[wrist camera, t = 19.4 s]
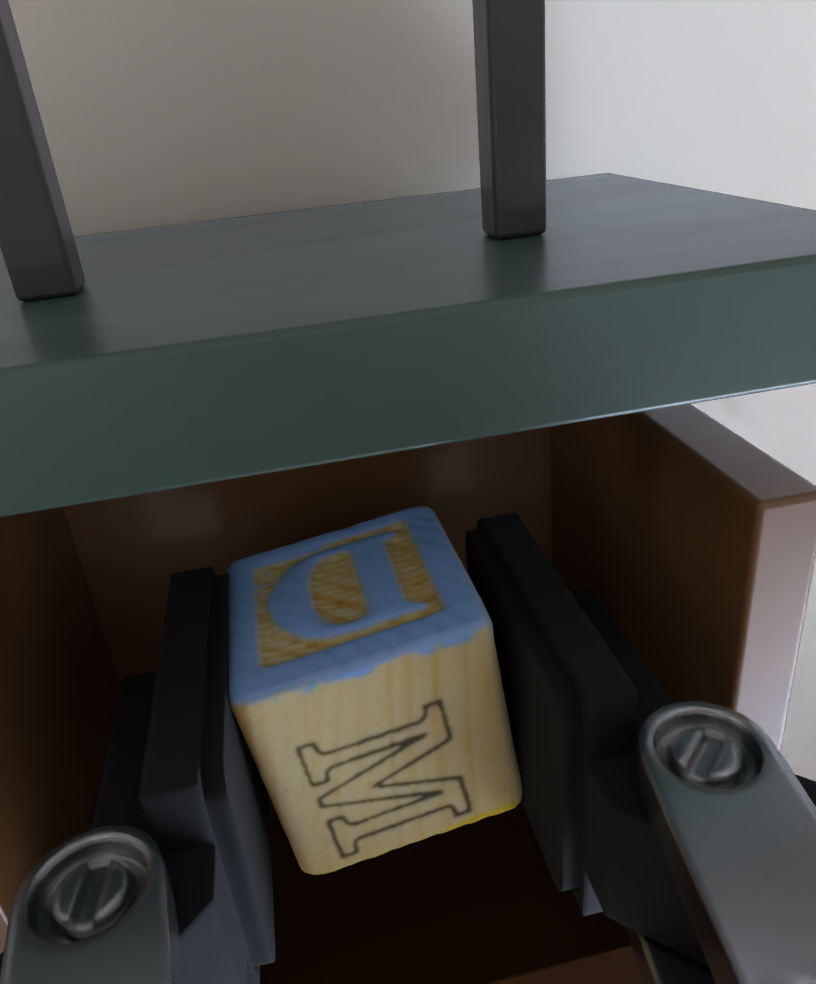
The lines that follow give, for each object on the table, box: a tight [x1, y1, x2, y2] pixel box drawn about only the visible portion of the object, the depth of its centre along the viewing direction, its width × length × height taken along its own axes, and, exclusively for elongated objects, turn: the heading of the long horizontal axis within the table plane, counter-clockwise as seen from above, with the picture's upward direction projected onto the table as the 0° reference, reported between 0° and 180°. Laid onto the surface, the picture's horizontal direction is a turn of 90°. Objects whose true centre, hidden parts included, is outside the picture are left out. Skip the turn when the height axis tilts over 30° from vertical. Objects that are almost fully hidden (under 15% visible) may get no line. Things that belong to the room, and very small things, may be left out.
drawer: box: [0, 0, 816, 984], centre depth 11 cm, size 18×11×7 cm, turn 5°
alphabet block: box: [226, 506, 523, 875], centre depth 10 cm, size 3×3×3 cm
